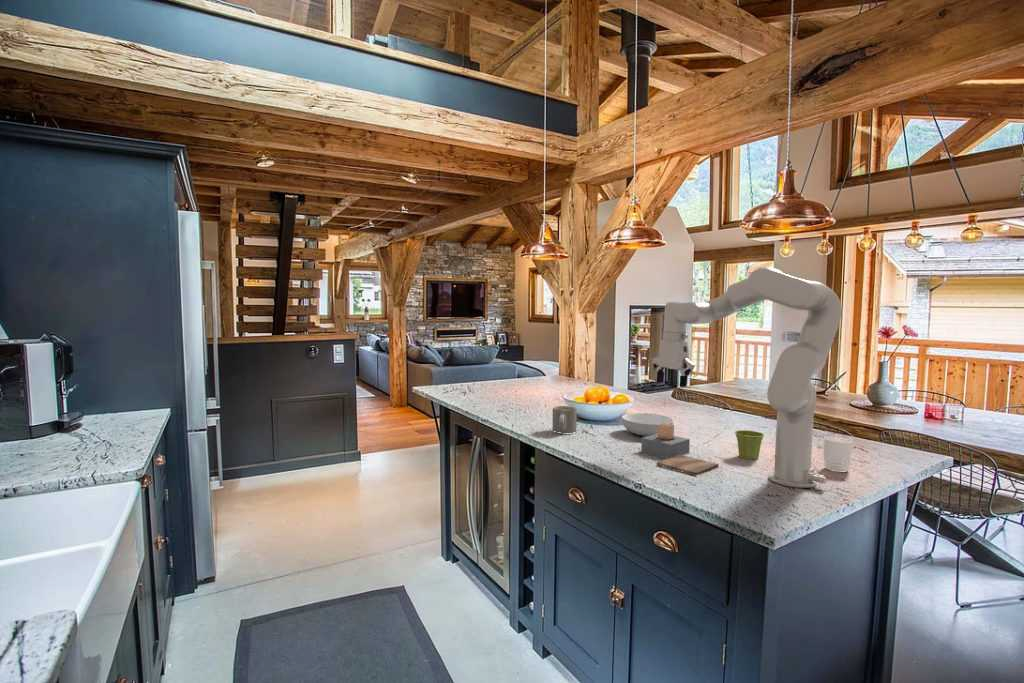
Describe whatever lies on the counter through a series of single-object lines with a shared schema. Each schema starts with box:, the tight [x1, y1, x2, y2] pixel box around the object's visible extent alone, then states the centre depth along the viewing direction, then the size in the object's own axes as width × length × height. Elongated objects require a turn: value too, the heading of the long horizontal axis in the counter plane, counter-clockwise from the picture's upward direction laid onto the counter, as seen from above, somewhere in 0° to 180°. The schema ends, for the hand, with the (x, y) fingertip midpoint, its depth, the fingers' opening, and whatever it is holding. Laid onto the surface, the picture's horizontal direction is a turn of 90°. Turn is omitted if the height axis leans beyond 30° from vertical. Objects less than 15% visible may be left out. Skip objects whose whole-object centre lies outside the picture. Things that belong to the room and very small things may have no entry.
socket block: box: [641, 434, 691, 459], centre depth 182 cm, size 12×12×5 cm
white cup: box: [823, 435, 853, 471], centre depth 164 cm, size 8×8×10 cm
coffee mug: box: [552, 405, 577, 433], centre depth 211 cm, size 13×10×10 cm
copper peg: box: [658, 423, 675, 441], centre depth 182 cm, size 4×4×10 cm
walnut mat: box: [656, 455, 719, 476], centre depth 166 cm, size 14×14×1 cm
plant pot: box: [734, 429, 765, 460], centre depth 177 cm, size 9×9×9 cm
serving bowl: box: [621, 412, 675, 437], centre depth 209 cm, size 21×21×7 cm
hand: (671, 384), depth 180 cm, fingers open, 9 cm apart
